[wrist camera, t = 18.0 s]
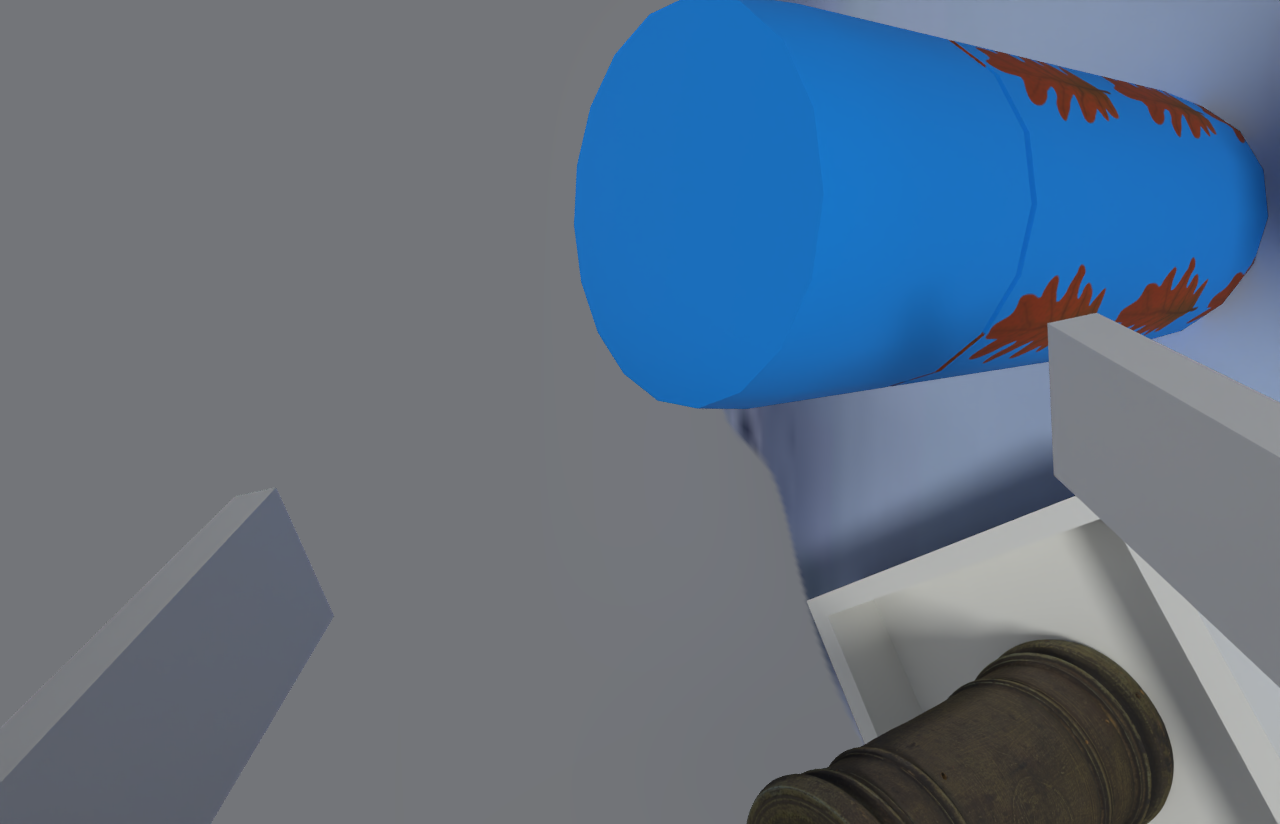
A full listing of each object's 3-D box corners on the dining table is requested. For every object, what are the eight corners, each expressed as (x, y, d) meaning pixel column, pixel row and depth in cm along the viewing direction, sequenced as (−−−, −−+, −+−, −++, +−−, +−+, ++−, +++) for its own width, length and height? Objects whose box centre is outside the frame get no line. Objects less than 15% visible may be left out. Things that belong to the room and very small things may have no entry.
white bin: (862, 580, 50) (806, 600, 47) (1177, 458, 34) (1122, 477, 32) (1012, 927, 44) (958, 974, 41) (1475, 967, 29) (1439, 1046, 26)
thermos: (1349, 194, 29) (921, 148, 15) (1128, 397, 36) (694, 495, 22) (1120, 45, 34) (651, -91, 20) (967, 246, 41) (539, 247, 27)
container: (1111, 616, 37) (848, 759, 26) (1223, 821, 34) (976, 1068, 24) (961, 658, 43) (706, 783, 33) (1043, 831, 41) (792, 1025, 31)
